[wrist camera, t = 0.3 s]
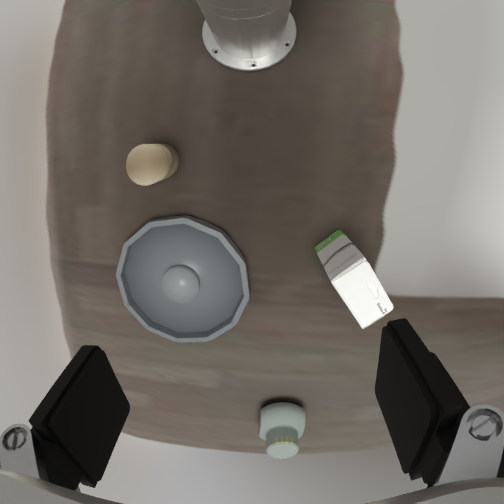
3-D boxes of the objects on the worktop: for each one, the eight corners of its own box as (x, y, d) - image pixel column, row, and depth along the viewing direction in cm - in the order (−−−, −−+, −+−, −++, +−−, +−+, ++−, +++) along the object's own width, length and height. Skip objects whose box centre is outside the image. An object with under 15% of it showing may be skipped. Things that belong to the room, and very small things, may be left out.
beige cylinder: (143, 147, 40) (123, 148, 34) (177, 140, 40) (161, 140, 33) (148, 181, 42) (129, 188, 35) (181, 175, 42) (167, 182, 35)
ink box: (312, 246, 45) (328, 281, 33) (340, 227, 43) (365, 256, 32) (342, 289, 47) (362, 331, 36) (368, 271, 46) (396, 309, 35)
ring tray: (110, 224, 44) (104, 228, 42) (239, 208, 43) (238, 211, 41) (140, 335, 51) (136, 342, 49) (255, 330, 50) (254, 338, 47)
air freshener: (262, 394, 55) (261, 434, 45) (305, 395, 55) (311, 434, 45) (258, 427, 58) (257, 465, 49) (297, 428, 58) (300, 465, 49)
